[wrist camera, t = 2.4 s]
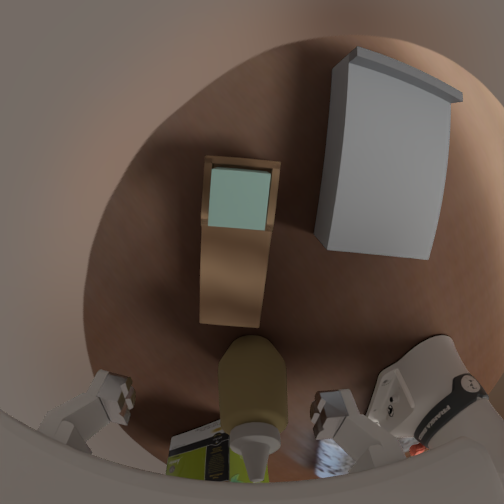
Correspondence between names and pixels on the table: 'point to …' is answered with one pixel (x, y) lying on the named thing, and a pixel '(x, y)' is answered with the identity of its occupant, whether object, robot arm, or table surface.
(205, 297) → the pallet
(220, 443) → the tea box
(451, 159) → the table surface
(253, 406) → the squeeze bottle
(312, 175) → the table surface
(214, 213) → the mint green cube
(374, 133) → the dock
